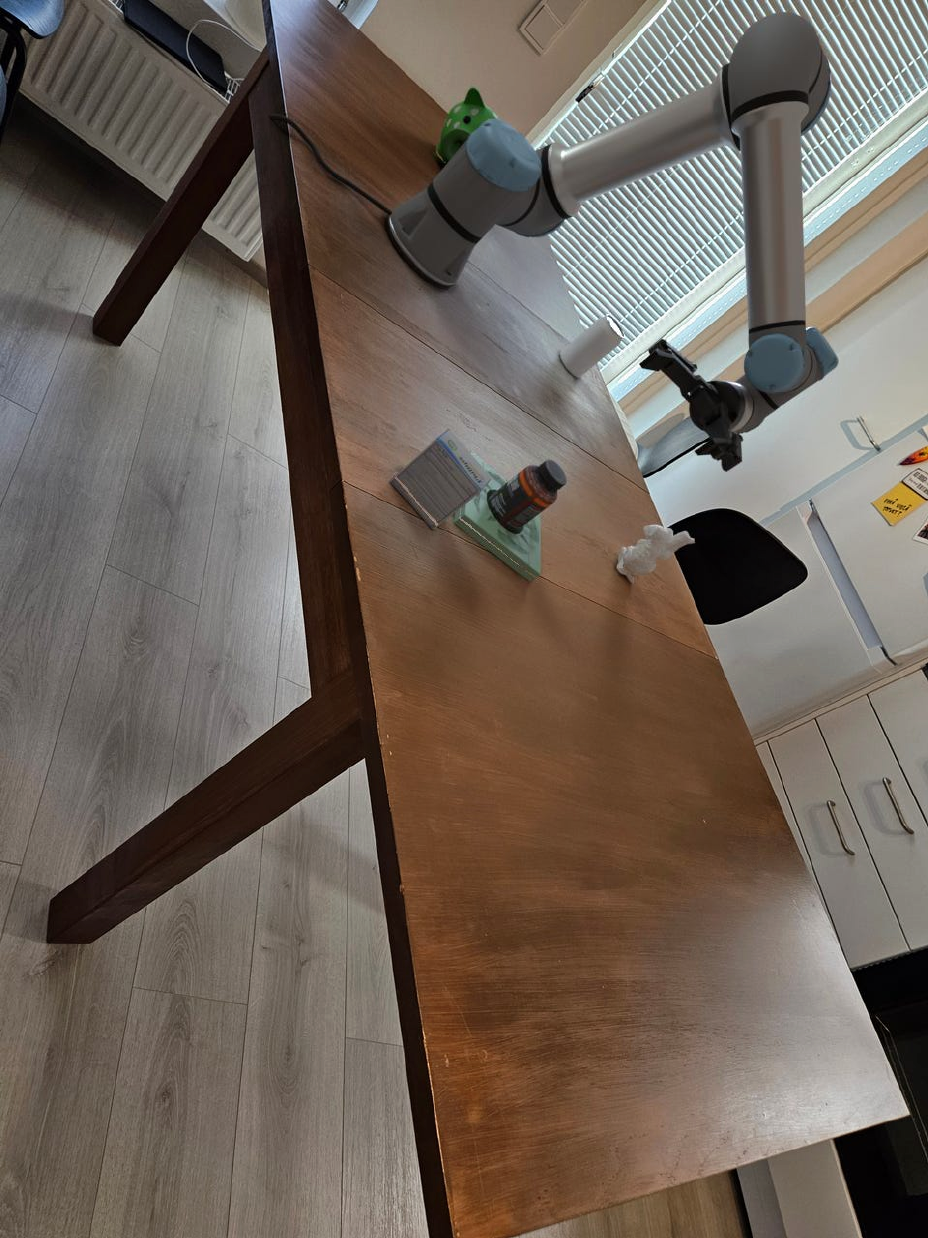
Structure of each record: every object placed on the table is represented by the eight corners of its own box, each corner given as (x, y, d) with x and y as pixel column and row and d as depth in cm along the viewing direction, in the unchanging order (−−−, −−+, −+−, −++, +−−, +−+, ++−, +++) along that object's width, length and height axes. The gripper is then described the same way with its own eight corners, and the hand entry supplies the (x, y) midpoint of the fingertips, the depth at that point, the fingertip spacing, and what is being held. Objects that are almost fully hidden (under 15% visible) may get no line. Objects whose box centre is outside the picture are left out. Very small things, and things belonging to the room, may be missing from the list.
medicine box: (444, 518, 100) (493, 478, 95) (431, 532, 96) (482, 491, 91) (402, 469, 98) (450, 426, 93) (388, 481, 94) (436, 437, 90)
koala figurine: (633, 564, 135) (693, 526, 129) (642, 595, 132) (704, 558, 125) (602, 544, 130) (663, 503, 124) (611, 576, 126) (674, 536, 120)
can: (572, 379, 160) (620, 339, 153) (554, 352, 160) (601, 311, 153) (583, 377, 165) (629, 339, 159) (565, 351, 165) (611, 312, 159)
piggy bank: (417, 150, 161) (468, 87, 153) (432, 131, 174) (480, 73, 166) (467, 205, 167) (519, 148, 158) (478, 183, 180) (527, 129, 172)
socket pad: (453, 523, 100) (464, 514, 99) (461, 458, 110) (471, 450, 109) (530, 582, 107) (541, 574, 106) (530, 516, 117) (540, 509, 116)
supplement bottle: (516, 535, 111) (579, 489, 104) (496, 541, 106) (560, 493, 100) (494, 499, 111) (554, 451, 105) (472, 503, 106) (535, 453, 100)
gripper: (743, 491, 120) (703, 500, 103) (656, 355, 123) (603, 342, 106) (788, 462, 116) (755, 467, 99) (697, 322, 119) (649, 303, 102)
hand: (676, 402), depth 102 cm, fingers open, 13 cm apart
